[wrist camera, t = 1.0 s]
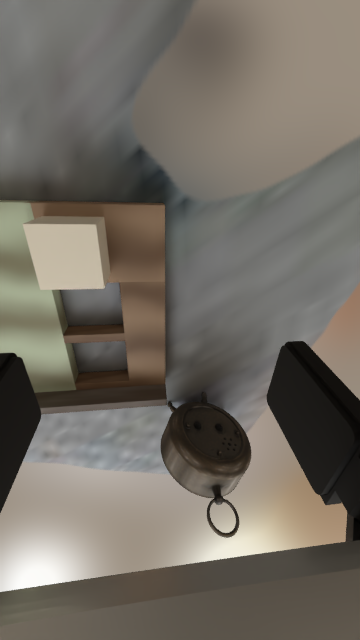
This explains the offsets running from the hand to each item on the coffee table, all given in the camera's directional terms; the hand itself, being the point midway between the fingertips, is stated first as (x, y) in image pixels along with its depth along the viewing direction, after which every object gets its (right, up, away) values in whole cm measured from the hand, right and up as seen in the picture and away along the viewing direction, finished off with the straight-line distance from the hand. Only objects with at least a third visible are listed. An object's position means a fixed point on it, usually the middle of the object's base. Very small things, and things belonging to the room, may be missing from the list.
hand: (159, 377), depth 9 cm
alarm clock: (+3, -10, +28) cm, 30 cm away
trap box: (-12, +3, +18) cm, 22 cm away
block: (-8, +9, +13) cm, 18 cm away
